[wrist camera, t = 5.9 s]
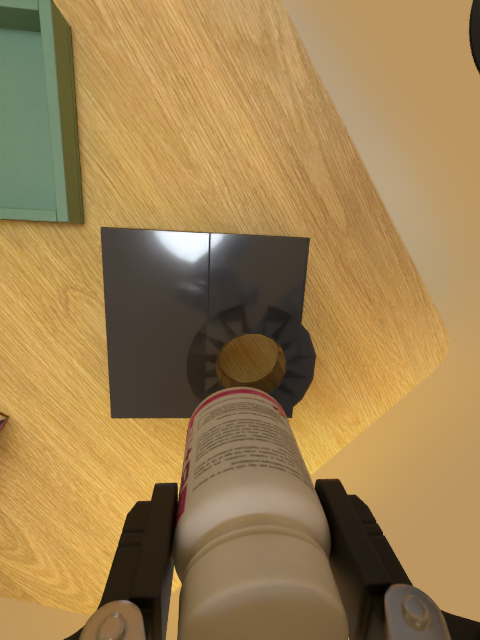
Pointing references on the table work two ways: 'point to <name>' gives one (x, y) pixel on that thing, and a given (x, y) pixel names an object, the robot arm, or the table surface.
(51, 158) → the tray
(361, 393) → the table surface
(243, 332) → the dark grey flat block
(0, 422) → the candy box
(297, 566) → the pill bottle
